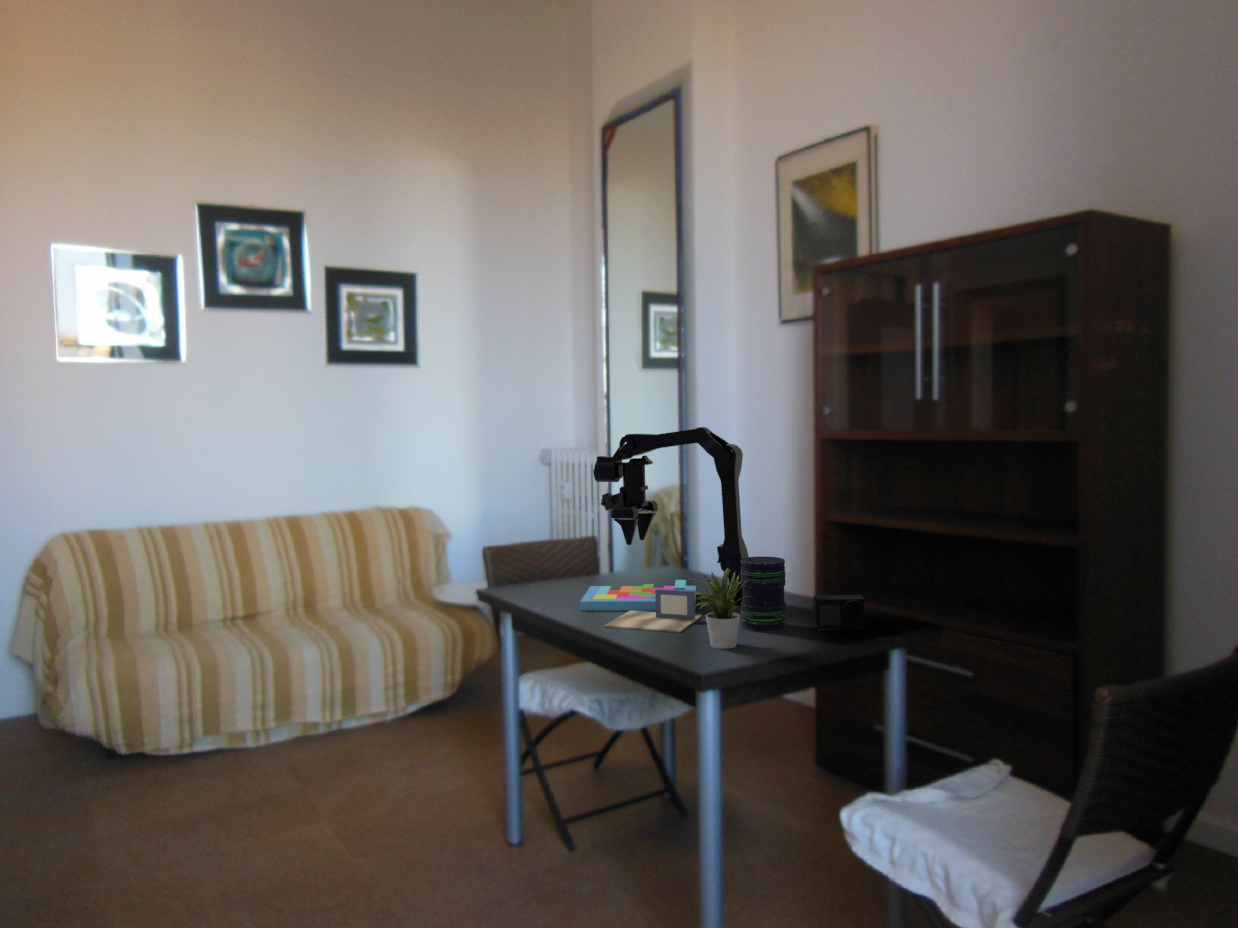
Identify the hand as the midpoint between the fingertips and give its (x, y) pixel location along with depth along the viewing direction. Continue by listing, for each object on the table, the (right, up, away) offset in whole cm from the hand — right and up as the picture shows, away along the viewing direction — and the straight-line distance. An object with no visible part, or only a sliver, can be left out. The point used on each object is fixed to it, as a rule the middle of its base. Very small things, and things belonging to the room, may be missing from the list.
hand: (635, 542), depth 231 cm
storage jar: (+28, -16, -33) cm, 46 cm away
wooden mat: (+4, -16, -26) cm, 31 cm away
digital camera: (+44, -16, -36) cm, 59 cm away
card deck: (+9, -15, -24) cm, 30 cm away
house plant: (+17, -17, -47) cm, 53 cm away
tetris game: (+2, -15, 0) cm, 15 cm away
